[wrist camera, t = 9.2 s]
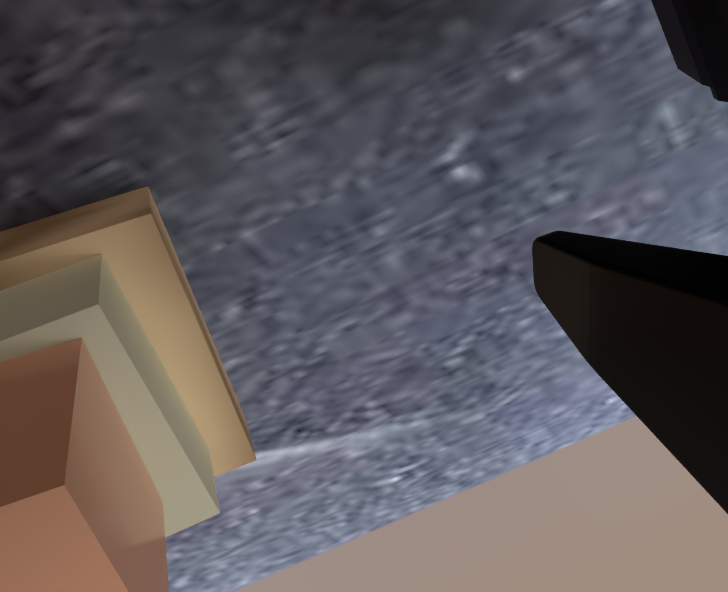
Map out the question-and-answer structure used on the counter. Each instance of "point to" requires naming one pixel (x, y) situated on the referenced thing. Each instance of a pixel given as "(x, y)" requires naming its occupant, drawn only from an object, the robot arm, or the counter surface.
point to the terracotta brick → (72, 483)
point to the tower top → (118, 376)
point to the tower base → (142, 303)
